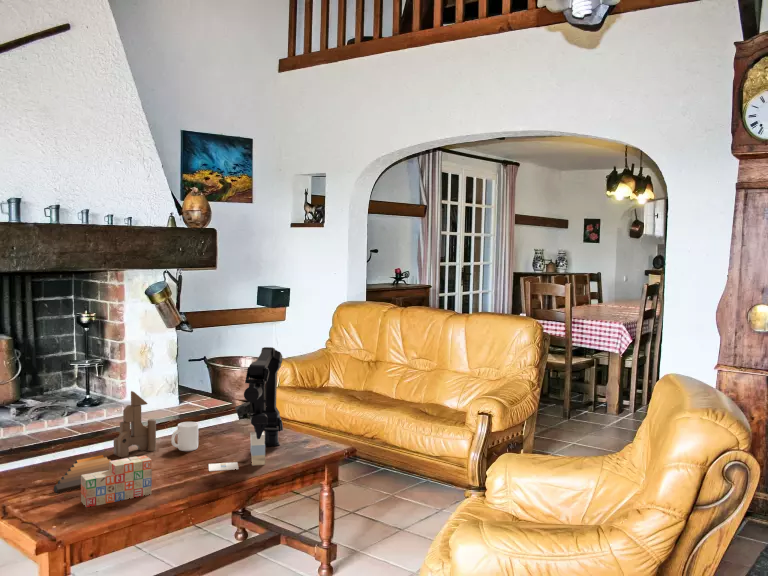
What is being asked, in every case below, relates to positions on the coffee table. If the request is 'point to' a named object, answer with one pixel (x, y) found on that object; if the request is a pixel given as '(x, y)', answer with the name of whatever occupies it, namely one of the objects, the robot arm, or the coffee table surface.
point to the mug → (186, 436)
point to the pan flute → (81, 472)
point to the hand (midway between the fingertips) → (257, 435)
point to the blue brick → (257, 450)
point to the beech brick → (258, 460)
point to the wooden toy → (135, 429)
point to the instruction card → (223, 466)
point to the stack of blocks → (117, 481)
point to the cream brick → (256, 441)
